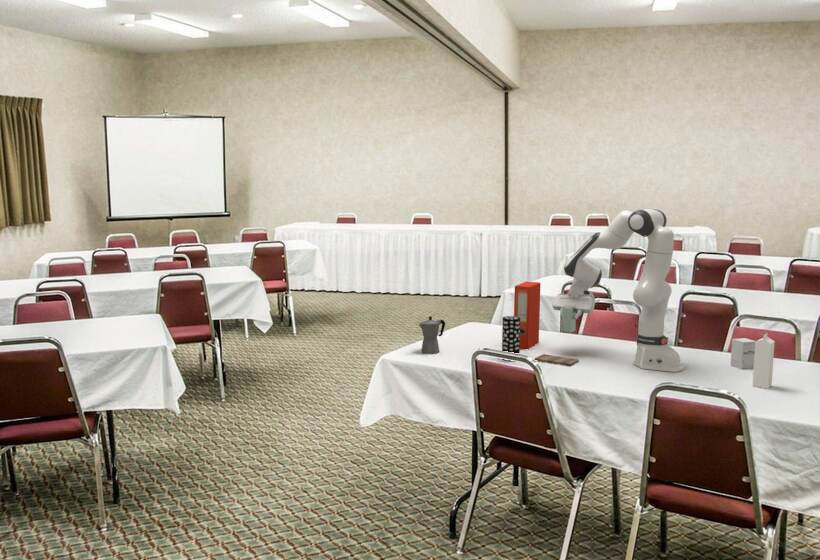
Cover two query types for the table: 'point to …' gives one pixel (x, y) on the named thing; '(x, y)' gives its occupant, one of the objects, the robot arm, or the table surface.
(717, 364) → the table surface
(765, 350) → the milk
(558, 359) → the board
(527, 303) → the file binder
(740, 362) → the supplement box
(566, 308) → the tea tin
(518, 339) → the spotted tube
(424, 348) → the coffeepot
